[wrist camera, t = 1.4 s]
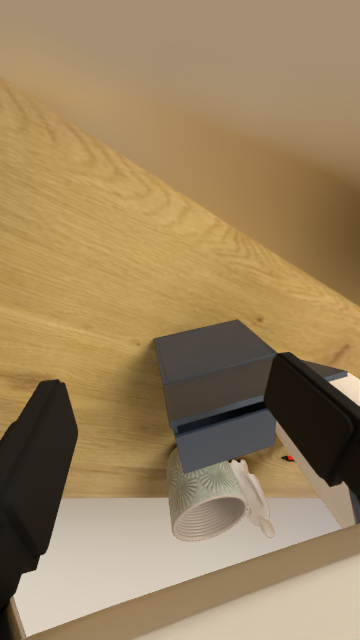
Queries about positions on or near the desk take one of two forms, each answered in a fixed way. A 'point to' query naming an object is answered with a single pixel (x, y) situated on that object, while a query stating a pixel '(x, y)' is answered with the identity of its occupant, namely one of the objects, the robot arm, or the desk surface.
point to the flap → (226, 390)
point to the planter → (203, 500)
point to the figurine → (253, 497)
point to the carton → (205, 358)
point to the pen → (288, 458)
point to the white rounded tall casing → (331, 496)
